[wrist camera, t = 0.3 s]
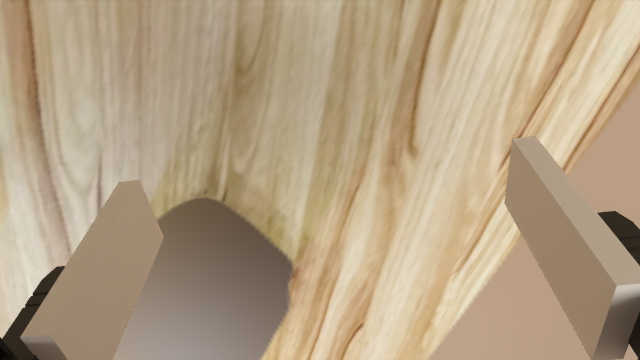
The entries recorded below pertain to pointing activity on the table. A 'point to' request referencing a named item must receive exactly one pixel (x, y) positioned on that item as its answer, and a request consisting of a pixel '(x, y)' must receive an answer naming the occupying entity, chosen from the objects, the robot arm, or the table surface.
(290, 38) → the table surface
